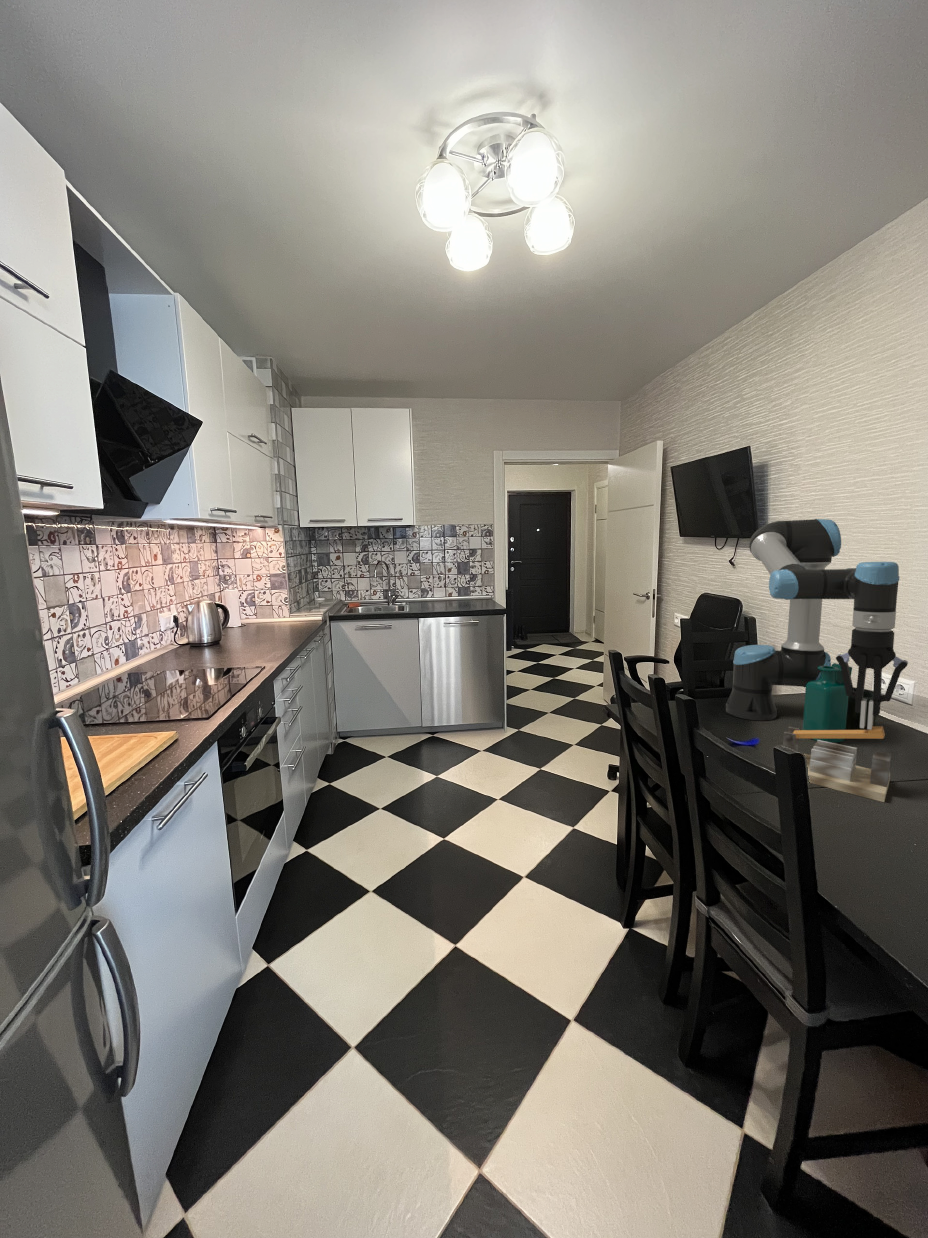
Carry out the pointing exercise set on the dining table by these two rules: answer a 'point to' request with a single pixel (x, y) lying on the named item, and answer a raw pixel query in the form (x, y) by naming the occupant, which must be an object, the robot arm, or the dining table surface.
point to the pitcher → (826, 702)
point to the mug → (854, 717)
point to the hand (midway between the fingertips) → (866, 727)
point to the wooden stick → (842, 733)
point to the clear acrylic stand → (844, 768)
